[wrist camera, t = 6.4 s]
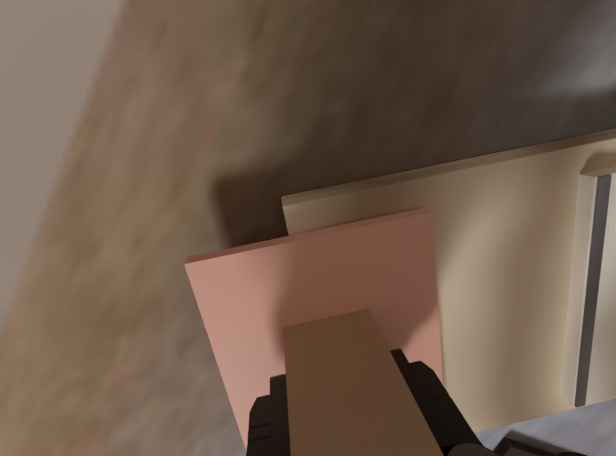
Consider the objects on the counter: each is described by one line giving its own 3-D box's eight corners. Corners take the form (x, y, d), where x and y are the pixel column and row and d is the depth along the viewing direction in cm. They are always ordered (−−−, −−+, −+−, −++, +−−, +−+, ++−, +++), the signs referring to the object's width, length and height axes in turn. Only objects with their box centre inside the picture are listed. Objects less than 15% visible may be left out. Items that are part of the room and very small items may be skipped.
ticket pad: (736, 90, 13) (964, 77, 9) (677, 360, 17) (811, 441, 13) (278, 183, 12) (282, 217, 8) (333, 442, 16) (355, 556, 12)
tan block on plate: (424, 207, 11) (612, 316, 5) (439, 426, 15) (567, 657, 8) (188, 256, 11) (81, 437, 5) (258, 470, 14) (248, 744, 8)
